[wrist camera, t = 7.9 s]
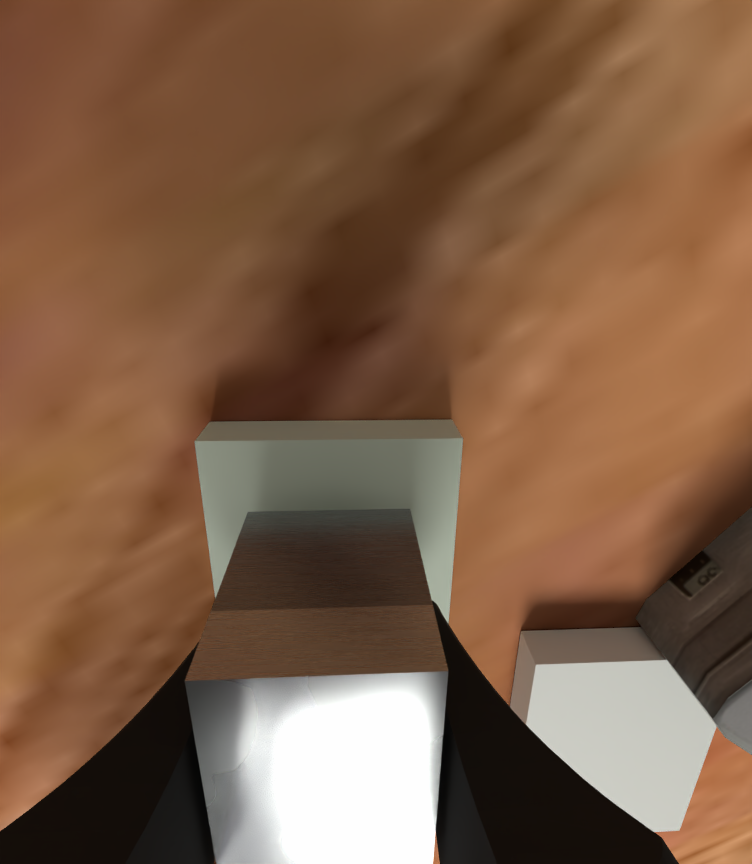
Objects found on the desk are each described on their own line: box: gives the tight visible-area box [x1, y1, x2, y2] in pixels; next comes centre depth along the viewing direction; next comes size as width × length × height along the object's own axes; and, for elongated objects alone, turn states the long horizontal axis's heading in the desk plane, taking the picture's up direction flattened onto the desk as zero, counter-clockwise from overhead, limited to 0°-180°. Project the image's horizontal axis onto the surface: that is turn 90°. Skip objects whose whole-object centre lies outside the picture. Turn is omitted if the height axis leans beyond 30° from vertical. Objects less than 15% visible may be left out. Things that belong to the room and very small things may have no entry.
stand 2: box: [510, 627, 717, 832], centre depth 19 cm, size 9×7×2 cm
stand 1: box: [195, 419, 463, 623], centre depth 15 cm, size 9×7×2 cm
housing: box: [185, 509, 448, 864], centre depth 11 cm, size 6×4×5 cm, turn 179°
